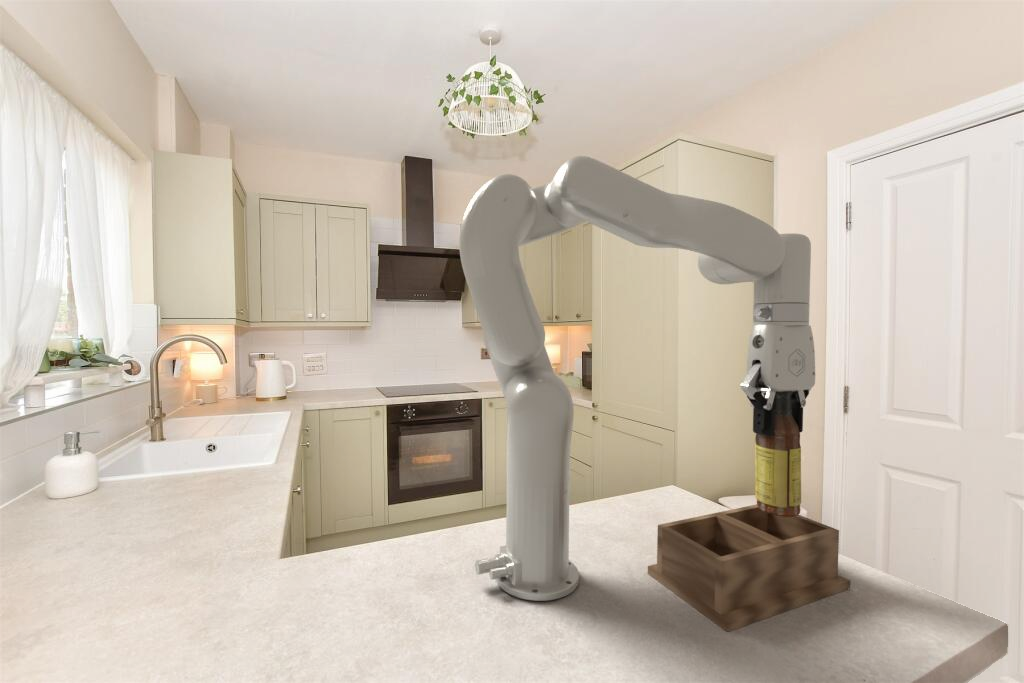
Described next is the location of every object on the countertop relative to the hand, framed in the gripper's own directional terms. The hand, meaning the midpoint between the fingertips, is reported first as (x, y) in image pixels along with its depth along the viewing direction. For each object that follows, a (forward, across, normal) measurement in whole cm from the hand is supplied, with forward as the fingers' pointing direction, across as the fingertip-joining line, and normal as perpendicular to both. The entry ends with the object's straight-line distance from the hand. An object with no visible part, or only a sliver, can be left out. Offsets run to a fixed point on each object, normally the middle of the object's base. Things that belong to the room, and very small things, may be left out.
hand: (777, 431), depth 72 cm
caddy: (+22, -6, 0) cm, 23 cm away
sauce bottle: (+13, 0, 0) cm, 13 cm away
